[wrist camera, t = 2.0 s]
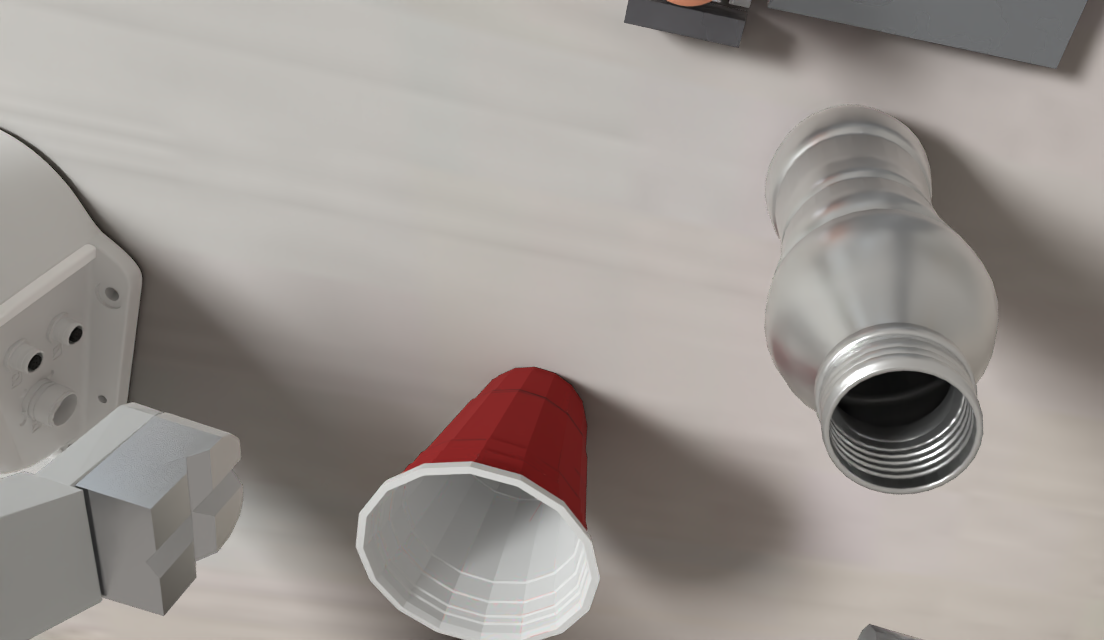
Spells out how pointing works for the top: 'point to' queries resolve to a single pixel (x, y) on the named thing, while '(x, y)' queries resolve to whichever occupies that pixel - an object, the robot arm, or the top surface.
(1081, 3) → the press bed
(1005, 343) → the top surface
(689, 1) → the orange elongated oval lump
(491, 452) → the plastic cup
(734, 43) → the rail
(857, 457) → the plastic bottle
